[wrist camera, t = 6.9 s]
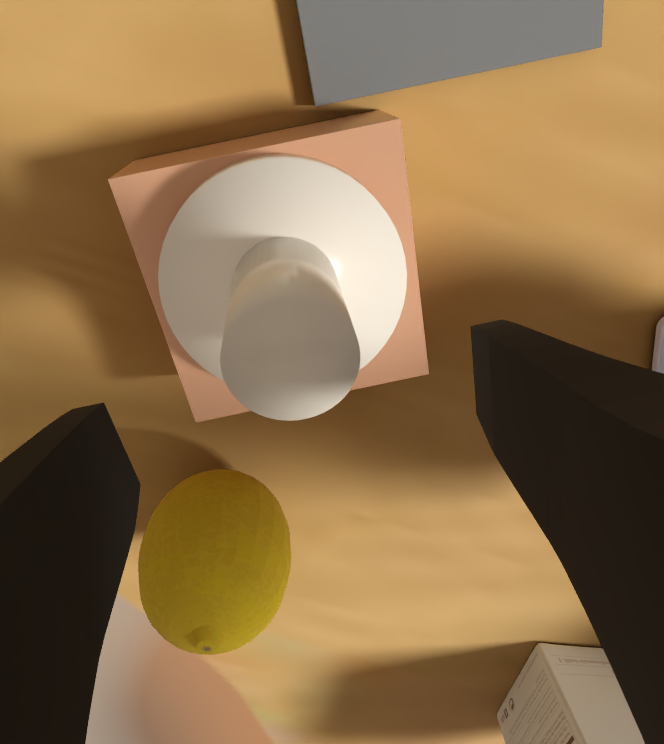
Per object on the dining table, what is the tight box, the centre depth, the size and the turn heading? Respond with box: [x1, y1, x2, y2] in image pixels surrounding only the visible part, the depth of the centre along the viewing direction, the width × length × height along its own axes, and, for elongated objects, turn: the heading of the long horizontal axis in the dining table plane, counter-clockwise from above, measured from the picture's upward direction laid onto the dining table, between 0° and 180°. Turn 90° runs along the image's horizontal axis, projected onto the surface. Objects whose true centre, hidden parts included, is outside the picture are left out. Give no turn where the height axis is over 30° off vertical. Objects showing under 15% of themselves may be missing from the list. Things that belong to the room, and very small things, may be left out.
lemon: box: [138, 469, 291, 655], centre depth 21 cm, size 6×6×8 cm
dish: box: [108, 110, 429, 422], centre depth 19 cm, size 8×8×4 cm
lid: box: [158, 153, 407, 421], centre depth 15 cm, size 7×7×6 cm
